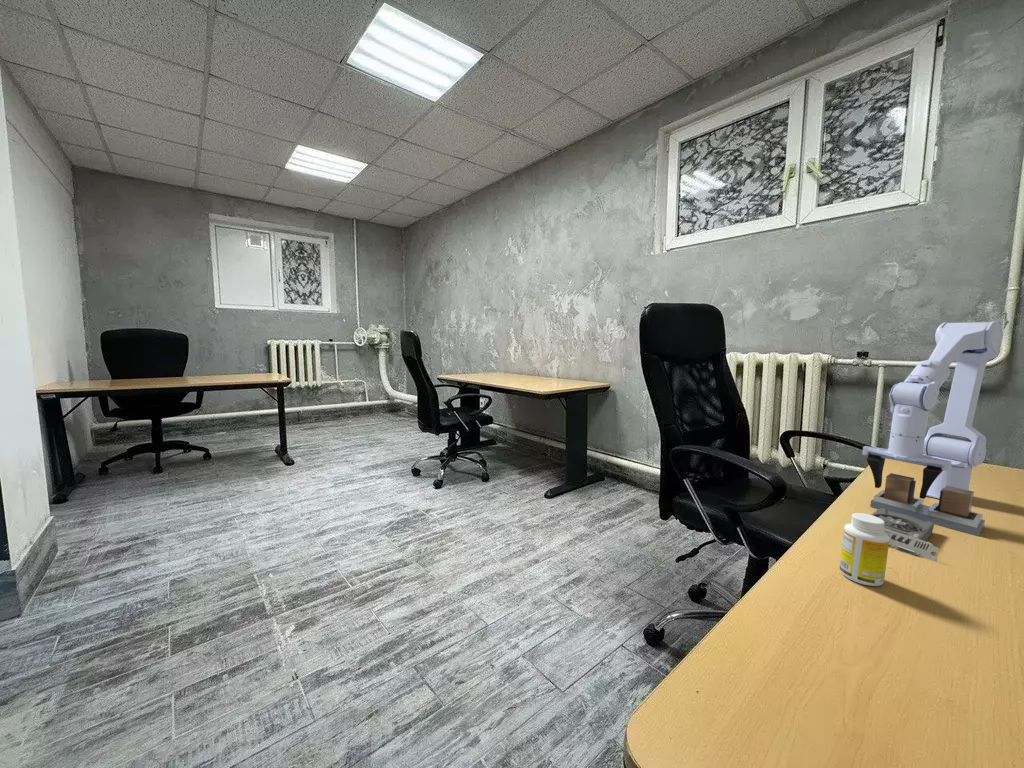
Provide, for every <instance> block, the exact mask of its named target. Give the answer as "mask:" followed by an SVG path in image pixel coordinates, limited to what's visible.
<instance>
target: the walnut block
mask: <svg viewBox="0 0 1024 768" xmlns="http://www.w3.org/2000/svg"><path fill="white" fill-rule="evenodd" d="M916 482H917V481H916V480H915V478H914V477H912V476H911V477H910V476H906V475H901V474H896V473H892V472H891V473H889V474H888V475H886V476H885V484H884V485H885V486H884V498H887V499H891V500H895V501H899V502H903V503H907V504H910V503H911V501H912V500H913V498H915V491H916V490H915V489H916V484H917V483H916Z"/></svg>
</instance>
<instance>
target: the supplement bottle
mask: <svg viewBox="0 0 1024 768" xmlns="http://www.w3.org/2000/svg"><path fill="white" fill-rule="evenodd" d="M884 523H885V522H884V521H883V520H882V519H880V518H878V517H875V516H872V515H871V514H868V513H862V512H855V513H854V512H853V513H852V515H851V520H850V523H846V524H845V525H844V527H843V533H842V543H841V551H840V561H839V571H840V573H841V574H842V575H843V576H844V577H845V578H847V579H848V580H851V581H853V582H855V583H858V584H861V585H864V586H869V587H878V586H879V587H880V586H882V585H883V584H884V582H885V576H886V569H887V563H888V562H887V561H888V554H889V547H890V546H889V536H888V534H887V533H886V532H884Z"/></svg>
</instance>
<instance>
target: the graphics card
mask: <svg viewBox="0 0 1024 768" xmlns="http://www.w3.org/2000/svg"><path fill="white" fill-rule="evenodd" d="M870 515H872V516H875V517H878V518H880V519H882V520H883V521H884V522H885V523H884V532H886V533H887V534H888V536H889V547H890V546H892V547H891V548H893V547H894V549H896V548H897V551H899V552H903V553H905V554H908V555H911V556H914V555H915V556H917V557H921V558H925V559H927V560H931V561H933V562H937V560H938V557H937V556H934V555H933V554H932V553H936V554H939V552H940V548H939V547H937V546H935V545H934V544H933V543H931V542H929V541H927V540H928V539H929V537H930V536H931V535H933V531H934V528H935V524H934V523H932V522H930V521H929V522H925V521H921V520H918V519H916V518H913V517H910V516H907V515H903V514H899V513H894V512H890V511H887V510H886V508H880V509H877V510H876V511H874V512H873V513H871V514H870ZM924 546H925V547H924ZM923 548H924V549H923Z"/></svg>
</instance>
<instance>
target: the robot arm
mask: <svg viewBox="0 0 1024 768" xmlns="http://www.w3.org/2000/svg"><path fill="white" fill-rule="evenodd" d="M1003 338H1004V331H1003V327H1002V325H1001V323H1000V322H998V321H995V320H994V321H993V320H992V321H984V322H983V321H982V322H981V321H978V322H976V321H975V322H974V321H973V322H972V321H971V322H947V321H946V322H945V321H943V322H942V323H941V324H940V325H939V326H937V328H936V330H935V336H934V340H935V342H936V343H935V344H936V346H935V348H933V351H932V353H931V354H930V356H929V358H928V359H926V360H922V361H920V362H919V363H918V364H916V366H915V367H914V369H913V370H912V371H911V372H910V374H909V375H907V377H906V378H905V380H904V381H901V382H899V383H895V384H894V385H892V387H891V389H890V392H889V394H888V397H889V398H888V399H889V403H890V404H889V405H890V414H892V419H891V425H890V434H889V442H888V448H882V447H874V446H868V445H865V446H863V447H862V456H867V458H866V462H867V464H868V466H869V469H870V470H871V473H872V477H873V482H874V488H875V489H880V488H881V487H882V482H883V472H884V467H885V462H886V459H887V460H892V461H896V462H897V461H898V462H902V463H907V464H908V463H909V464H913V465H918V466H924V468H923V471H922V472H923V473H922V483H921V488H920V492H919V499H922V500H925V499H926V498H927V497H930V498H935V499H938V500H939V498H940V492H941V490H942V489H943V488H945V487H946V486H950V487H955V488H959V489H964V490H969V489H970V484H971V477H972V470H973V468H975V467H978V466H980V465H982V464H983V462H984V460H985V459H986V455H987V447H986V444H987V438H986V436H985V435H984V434H983V433H981V432H980V431H979V430H977V429H976V428H975V427H974V426H973V423H974V422H973V421H974V418H975V414H976V408H977V405H978V401H979V396H980V391H981V387H982V381H983V378H984V374H985V370H986V366H987V363H988V361H989V360H992V359H995V358H998V355H999V353H1000V350H1001V347H1002V342H1003ZM953 362H956V365H955V367H954V373H953V377H952V382H951V387H950V391H949V396H948V400H947V405H946V409H945V414H944V419H943V422H942V423H939V424H937V425H934V426H931V427H930V428H929V429H927V427H928V426H927V425H928V420H929V412H930V410H932V409H933V408H934V407H935V406H936V403H937V401H938V396H939V395H940V388H941V387H942V385H943V384H944V383H945V381H946V380H947V379H948V378H949V376H950V374H951V370H950V368H949V366H950V365H952V363H953ZM948 435H951V436H948ZM953 436H956V437H953ZM959 437H963V438H959ZM966 438H967V439H966ZM969 491H970V490H969Z"/></svg>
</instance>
